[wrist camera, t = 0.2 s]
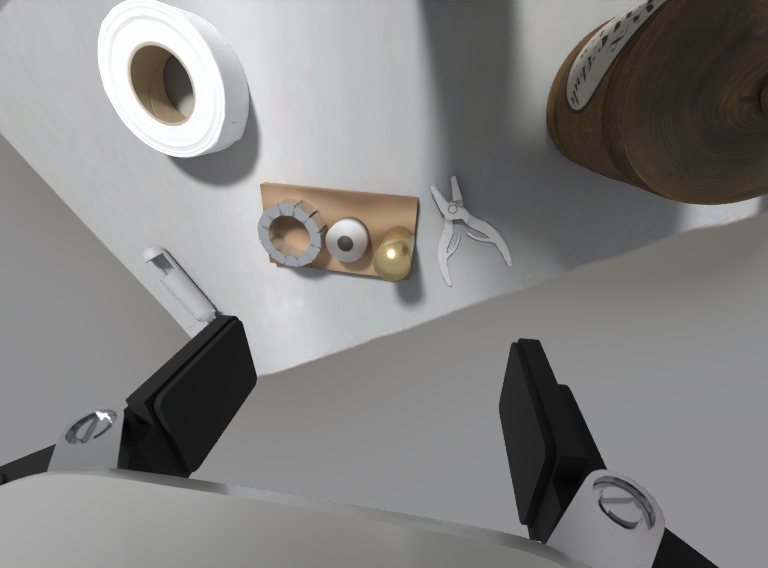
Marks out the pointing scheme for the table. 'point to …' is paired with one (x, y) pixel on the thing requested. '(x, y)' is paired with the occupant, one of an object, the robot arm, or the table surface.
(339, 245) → the fitting board
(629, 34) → the wooden container
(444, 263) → the pliers
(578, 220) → the table surface
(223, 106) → the roll of tape
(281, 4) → the table surface
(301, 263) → the ring
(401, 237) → the brass peg
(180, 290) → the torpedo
